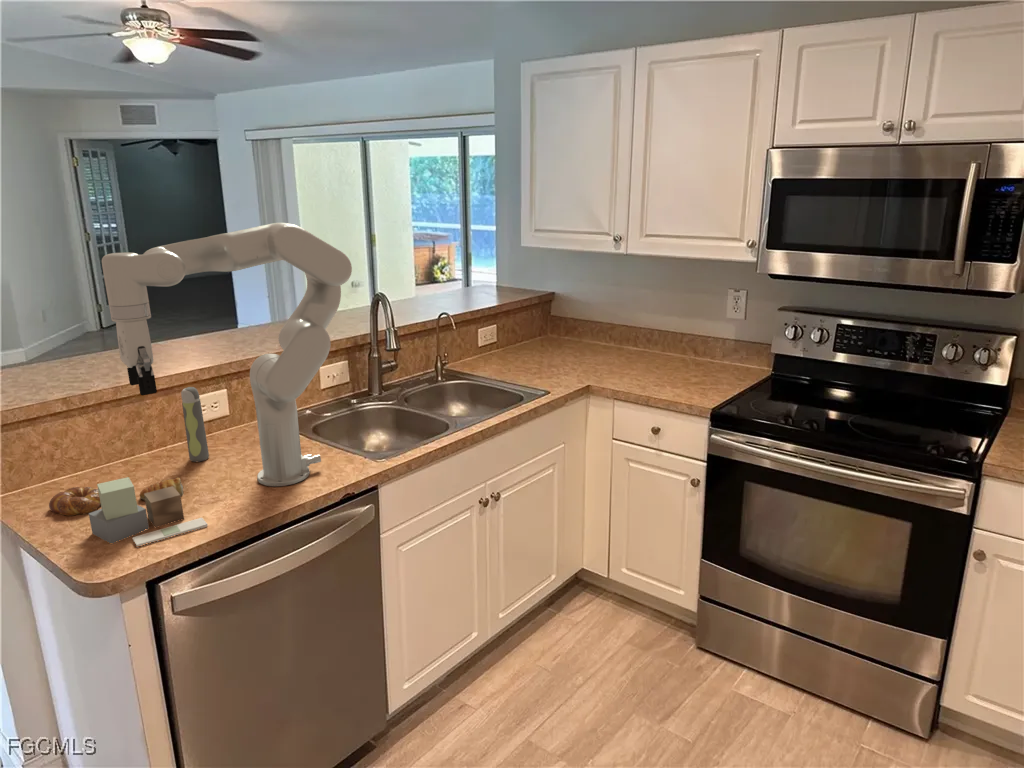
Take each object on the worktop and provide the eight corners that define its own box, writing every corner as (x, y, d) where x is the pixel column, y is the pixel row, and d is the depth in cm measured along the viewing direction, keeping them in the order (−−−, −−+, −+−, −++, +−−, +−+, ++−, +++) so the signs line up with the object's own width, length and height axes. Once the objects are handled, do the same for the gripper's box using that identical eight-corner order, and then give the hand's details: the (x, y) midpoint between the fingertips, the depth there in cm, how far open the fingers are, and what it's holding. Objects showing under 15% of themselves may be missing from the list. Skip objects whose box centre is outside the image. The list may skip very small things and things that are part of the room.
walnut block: (176, 510, 161) (172, 486, 159) (184, 519, 157) (180, 494, 155) (148, 518, 157) (143, 493, 156) (155, 528, 153) (150, 502, 151)
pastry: (141, 506, 163) (138, 491, 162) (139, 495, 169) (137, 480, 168) (185, 497, 168) (183, 482, 167) (182, 487, 174) (180, 472, 172)
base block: (130, 520, 157) (126, 499, 156) (149, 529, 153) (145, 508, 151) (92, 534, 151) (88, 513, 149) (111, 545, 146) (107, 523, 145)
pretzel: (115, 506, 164) (112, 492, 162) (62, 523, 156) (59, 508, 155) (95, 492, 171) (92, 478, 170) (44, 507, 163) (41, 493, 162)
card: (202, 519, 156) (201, 517, 156) (207, 526, 153) (207, 523, 153) (132, 540, 148) (132, 537, 148) (137, 547, 145) (136, 544, 145)
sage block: (132, 502, 154) (128, 477, 153) (138, 512, 150) (133, 486, 148) (101, 509, 151) (97, 484, 149) (106, 520, 146) (101, 493, 144)
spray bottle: (193, 455, 192) (183, 385, 186) (212, 455, 192) (202, 385, 186) (186, 462, 187) (175, 390, 182) (205, 462, 188) (195, 390, 182)
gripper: (102, 308, 154) (116, 383, 159) (119, 320, 141) (133, 401, 146) (140, 304, 159) (152, 377, 163) (160, 315, 146) (172, 394, 151)
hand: (143, 388), depth 155 cm, fingers open, 9 cm apart
